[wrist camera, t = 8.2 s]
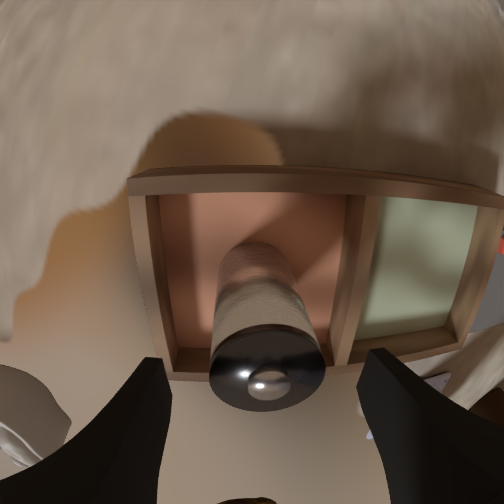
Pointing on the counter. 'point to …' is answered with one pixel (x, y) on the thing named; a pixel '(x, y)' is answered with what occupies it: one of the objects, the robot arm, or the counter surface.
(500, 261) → the grey square base plate
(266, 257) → the cell
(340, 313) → the sorting tray
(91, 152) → the counter surface
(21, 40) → the counter surface
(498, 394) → the olive oil
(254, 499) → the potato
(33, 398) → the lumpy-topped squat cylinder
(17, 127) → the counter surface
